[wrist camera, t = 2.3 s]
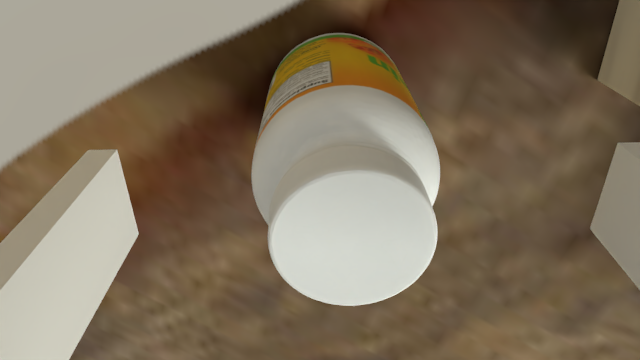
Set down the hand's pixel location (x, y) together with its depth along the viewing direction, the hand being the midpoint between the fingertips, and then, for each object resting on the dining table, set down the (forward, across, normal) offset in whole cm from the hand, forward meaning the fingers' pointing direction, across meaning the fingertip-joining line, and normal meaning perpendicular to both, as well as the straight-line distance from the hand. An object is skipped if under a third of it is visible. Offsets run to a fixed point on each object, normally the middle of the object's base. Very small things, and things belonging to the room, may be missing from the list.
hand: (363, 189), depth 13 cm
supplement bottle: (+8, -1, 0) cm, 8 cm away
